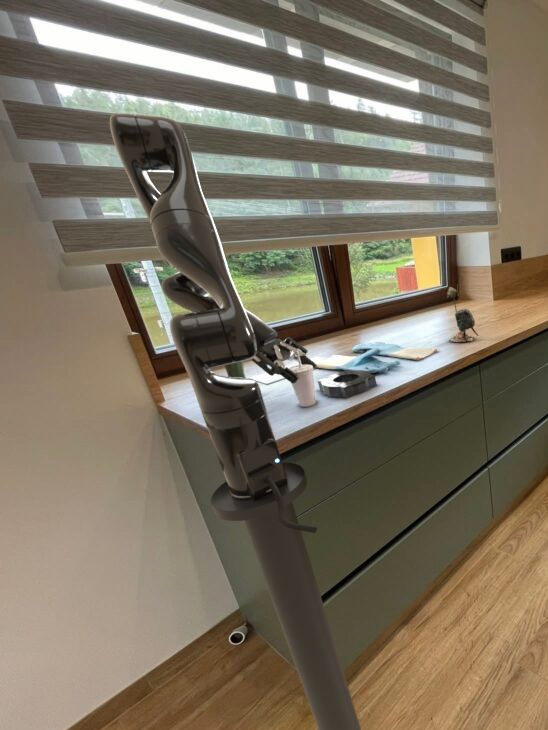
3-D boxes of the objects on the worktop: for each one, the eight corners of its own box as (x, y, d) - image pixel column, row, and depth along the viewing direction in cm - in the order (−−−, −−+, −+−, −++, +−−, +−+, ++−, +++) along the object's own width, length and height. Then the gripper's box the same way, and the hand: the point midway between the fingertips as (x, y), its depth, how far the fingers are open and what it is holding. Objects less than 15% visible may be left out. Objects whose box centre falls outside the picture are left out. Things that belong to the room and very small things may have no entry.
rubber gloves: (368, 344, 161) (365, 327, 159) (438, 351, 147) (436, 333, 144) (307, 367, 138) (302, 348, 136) (383, 378, 124) (379, 357, 122)
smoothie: (326, 401, 110) (314, 349, 105) (304, 410, 105) (290, 357, 100) (311, 397, 114) (298, 347, 108) (289, 406, 109) (274, 354, 103)
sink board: (382, 383, 120) (380, 374, 119) (342, 400, 110) (340, 389, 109) (353, 377, 127) (351, 367, 126) (314, 392, 117) (311, 382, 116)
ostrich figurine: (469, 345, 151) (463, 288, 144) (445, 342, 157) (439, 287, 150) (483, 339, 158) (478, 284, 150) (459, 336, 164) (454, 283, 156)
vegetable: (238, 408, 109) (214, 332, 102) (236, 403, 112) (212, 329, 105) (258, 403, 111) (235, 328, 104) (255, 398, 115) (232, 326, 107)
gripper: (237, 327, 95) (298, 374, 99) (275, 314, 109) (327, 355, 112) (222, 351, 98) (282, 395, 101) (261, 335, 111) (313, 374, 114)
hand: (306, 374), depth 106 cm, fingers open, 8 cm apart
